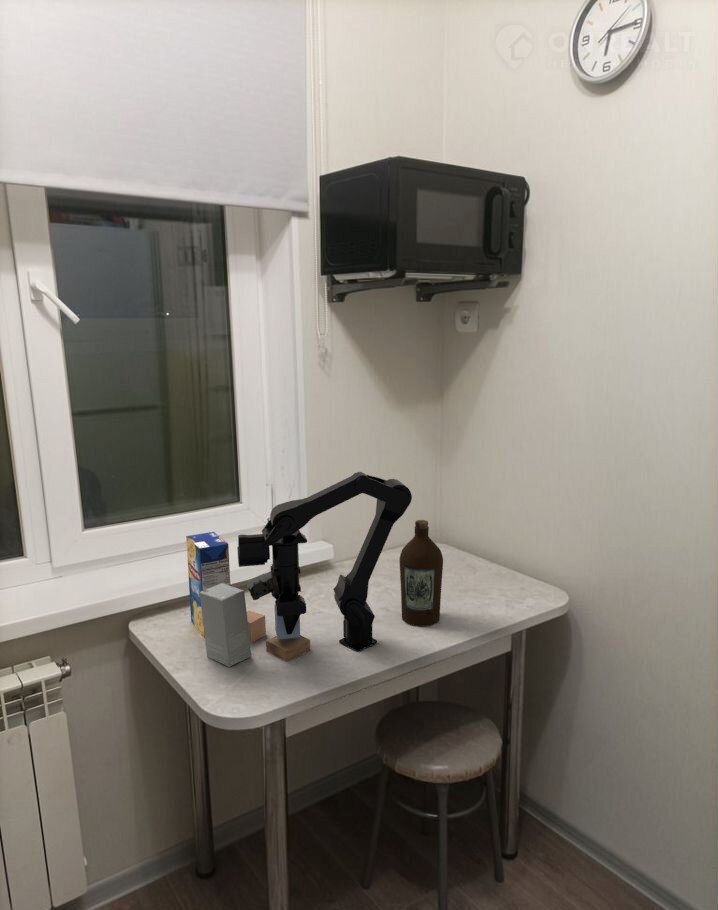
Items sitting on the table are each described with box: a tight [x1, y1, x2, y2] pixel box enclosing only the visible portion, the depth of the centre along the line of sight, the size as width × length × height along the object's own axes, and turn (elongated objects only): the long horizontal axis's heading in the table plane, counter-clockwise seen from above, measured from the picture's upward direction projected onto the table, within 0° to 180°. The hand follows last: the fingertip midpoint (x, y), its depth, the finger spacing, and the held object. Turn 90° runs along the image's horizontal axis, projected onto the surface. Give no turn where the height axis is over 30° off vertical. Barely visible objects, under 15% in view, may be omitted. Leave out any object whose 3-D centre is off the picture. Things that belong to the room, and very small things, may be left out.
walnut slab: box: [265, 634, 311, 663], centre depth 153 cm, size 7×7×3 cm
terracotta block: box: [246, 610, 267, 644], centre depth 160 cm, size 5×5×5 cm
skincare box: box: [200, 583, 252, 668], centre depth 149 cm, size 8×7×16 cm
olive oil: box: [399, 519, 444, 627], centre depth 167 cm, size 11×11×25 cm
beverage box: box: [185, 531, 231, 639], centre depth 164 cm, size 7×11×22 cm, turn 30°
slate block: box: [273, 604, 301, 639], centre depth 152 cm, size 5×5×6 cm
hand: (287, 628), depth 152 cm, fingers closed on slate block, 5 cm apart
